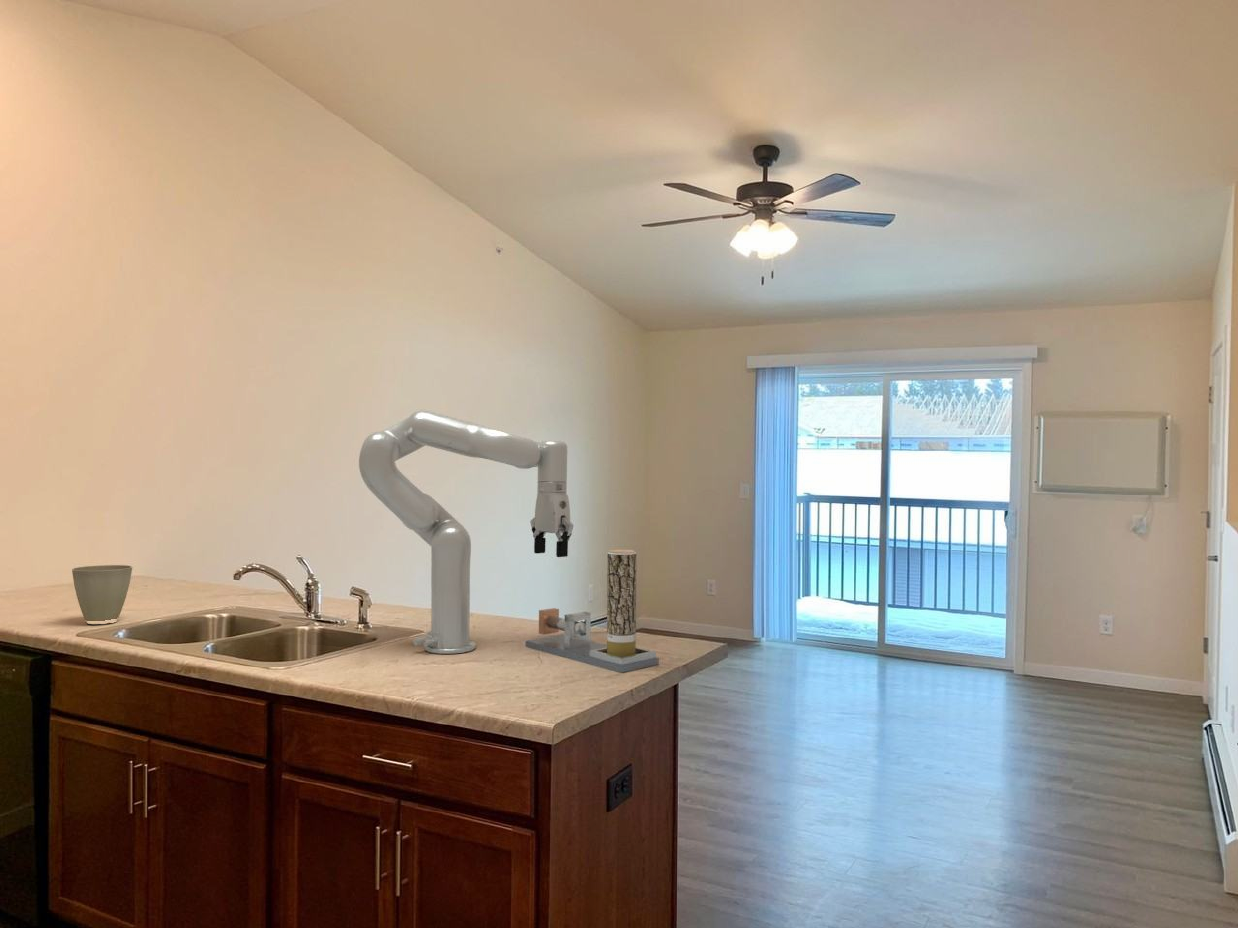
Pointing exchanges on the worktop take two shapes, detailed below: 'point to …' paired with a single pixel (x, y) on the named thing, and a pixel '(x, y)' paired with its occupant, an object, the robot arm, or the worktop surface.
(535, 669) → the worktop surface
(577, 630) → the shaft
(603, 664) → the shaft frame
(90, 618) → the plant pot
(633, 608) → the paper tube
